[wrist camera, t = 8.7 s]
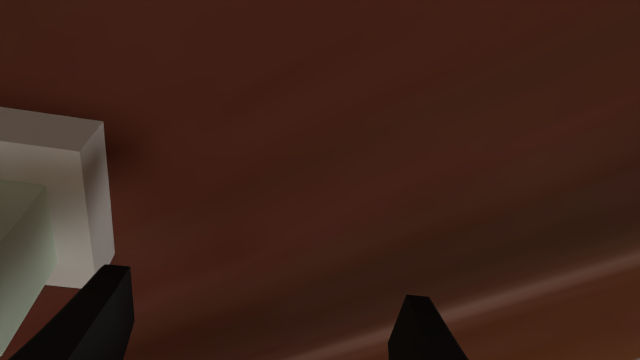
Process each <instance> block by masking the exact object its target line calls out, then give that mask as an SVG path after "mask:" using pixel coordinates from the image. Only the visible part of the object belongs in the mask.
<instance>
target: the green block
mask: <svg viewBox="0 0 640 360" xmlns="http://www.w3.org/2000/svg"><path fill="white" fill-rule="evenodd" d="M57 264H58V261H57V255H56V248H55V242H54V236H53V230H52V223H51V217H50V211H49V205H48V198H47V192H46V186H45V185H39V184H32V183H24V182H17V181H9V180H2V179H0V356H2V354H3V353H4V351H5V349H6V348H7V346H8V344H9V343H10V341H11V339H12V338H13V336H14V335H15V333H16V331H17V330H18V328H19V326H20V325H21V323H22V321H23V320H24V318H25V316H26V315H27V313H28V311H29V310H30V308H31V307H32V305H33V303H34V302H35V300H36V298H37V297H38V295H39V293H40V292H41V290H42V288H43V287H44V285H45V283H46V282H47V280H48V278H49V277H50V275H51V274H52V272H53V270H54V269H55V267H56V265H57Z"/></svg>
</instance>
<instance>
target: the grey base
mask: <svg viewBox="0 0 640 360" xmlns="http://www.w3.org/2000/svg"><path fill="white" fill-rule="evenodd" d="M0 179H2V180H9V181H17V182H24V183H32V184H39V185H45V186H46V192H47V198H48V205H49V211H50V217H51V223H52V230H53V236H54V242H55V248H56V255H57V261H58V264H57V265H56V267H55V269H54V270H53V272H52V274H51V275H50V277H49V278H48V280H47V282H46V283H45V285H53V286H62V287H71V288H82V287H83V286H84V285H85V284H86V283H87V282H88V281H89V280H90V279H91V278H92V276H93V275H94V274H95V273H96V272H97V271H98V270H99V269H100V268H101V267H102V266H103V265H105V264H108V265H109V264H110V262H111V260H112V258H113V256H114V254H115V251H114V239H113V228H112V217H111V205H110V194H109V182H108V171H107V160H106V148H105V137H104V125H103V121H96V120H89V119H82V118H75V117H68V116H61V115H54V114H47V113H40V112H33V111H26V110H19V109H12V108H5V107H0Z"/></svg>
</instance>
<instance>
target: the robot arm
mask: <svg viewBox="0 0 640 360" xmlns="http://www.w3.org/2000/svg"><path fill="white" fill-rule="evenodd" d="M133 323H134V308H133V296H132V284H131V272H130V267H128V266H118V265H108V264H105V265H103V266H102V267H101V268H100V269H99V270H98V271H97V272H96V273H95V274H94V275H93V276H92V278H91V279H90V280H89V281H88V282H87V283H86V284H85V285H84V286H83V287H82V288H81V290H80V291H79V292H78V293H77V294H76V295H75V296H74V297H73V298H72V299H71V300H70V301H69V302H68V303H67V304H66V305H65V306H64V307H63V308H62V309H61V310H60V311H59V312H58V313H57V314H56V315H55V316H54V317H53V318H52V319H51V320H50V321H49V322H48V323H47V324H46V325H45V326H44V327H43V328H42V329H41V330H40V331H39V332H38V333H37V334H36V335H35V336H34V337H33V338H32V339H30V340H29V341H28V342H27V343H26V344H25V345H24V346H23V347H22V348H20V349H19V350H18V351H17V352H16V353H15V354H14V355H13V356H12V357H10V358H9V359H8V360H123V358H124V354H125V351H126V348H127V344H128V341H129V338H130V334H131V331H132V327H133ZM388 351H389V360H469V359H468V358H467V357H466V355H465V354H464V352H463V351H462V349H461V347H460V346H459V344H458V343H457V341H456V340H455V338H454V337H453V335H452V333H451V332H450V330H449V329H448V327H447V325H446V324H445V322H444V321H443V319H442V317H441V316H440V314H439V312H438V311H437V309H436V308H435V306H434V304H433V303H432V301H431V300H430V298H429V297H424V296H415V295H406V298H405V300H404V303H403V305H402V308H401V310H400V313H399V316H398V318H397V321H396V323H395V326H394V329H393V331H392V334H391V336H390V339H389V342H388Z"/></svg>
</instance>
